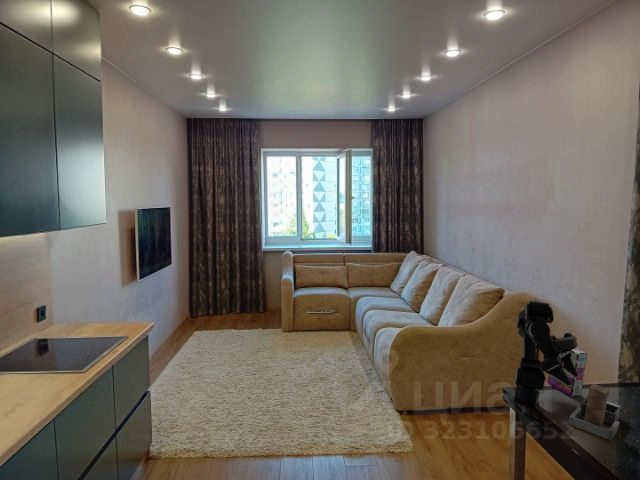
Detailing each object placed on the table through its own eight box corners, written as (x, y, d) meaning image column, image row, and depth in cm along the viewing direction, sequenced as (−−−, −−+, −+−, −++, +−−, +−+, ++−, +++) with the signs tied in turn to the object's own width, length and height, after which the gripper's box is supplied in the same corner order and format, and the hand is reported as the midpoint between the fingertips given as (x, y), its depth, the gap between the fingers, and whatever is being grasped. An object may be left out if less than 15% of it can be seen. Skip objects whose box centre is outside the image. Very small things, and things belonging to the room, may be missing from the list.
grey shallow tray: (568, 423, 149) (569, 416, 149) (576, 414, 156) (578, 407, 156) (611, 440, 141) (612, 432, 141) (618, 429, 148) (619, 422, 147)
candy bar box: (581, 395, 170) (588, 352, 168) (571, 397, 168) (578, 353, 166) (556, 382, 180) (562, 341, 178) (546, 383, 179) (552, 342, 176)
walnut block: (583, 426, 148) (589, 387, 146) (587, 421, 151) (593, 383, 150) (599, 432, 145) (605, 393, 143) (602, 427, 148) (609, 388, 146)
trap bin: (579, 413, 156) (581, 402, 156) (585, 407, 161) (587, 396, 161) (613, 426, 150) (615, 414, 149) (618, 419, 155) (620, 407, 154)
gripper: (555, 333, 144) (590, 378, 139) (569, 320, 158) (601, 361, 153) (525, 349, 150) (558, 394, 145) (541, 335, 165) (571, 375, 159)
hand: (573, 380), depth 151 cm, fingers open, 9 cm apart
